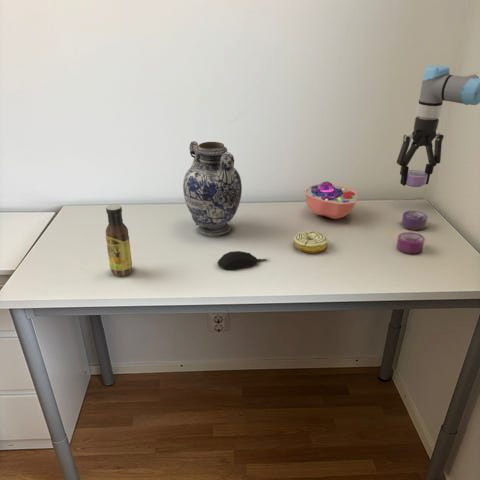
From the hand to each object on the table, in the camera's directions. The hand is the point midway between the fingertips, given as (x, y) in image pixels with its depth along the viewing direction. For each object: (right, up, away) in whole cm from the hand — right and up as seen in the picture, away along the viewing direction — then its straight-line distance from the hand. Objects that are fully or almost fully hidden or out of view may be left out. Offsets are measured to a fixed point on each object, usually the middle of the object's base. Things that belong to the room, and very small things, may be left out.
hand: (414, 183), depth 184 cm
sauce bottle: (-96, -35, -37) cm, 109 cm away
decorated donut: (-41, -26, -23) cm, 54 cm away
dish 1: (0, 0, 0) cm, 0 cm away
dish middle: (-4, -17, -10) cm, 20 cm away
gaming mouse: (-62, -32, -32) cm, 77 cm away
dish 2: (-10, -27, -24) cm, 38 cm away
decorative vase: (-71, -19, -13) cm, 75 cm away
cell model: (-31, -12, -2) cm, 33 cm away
